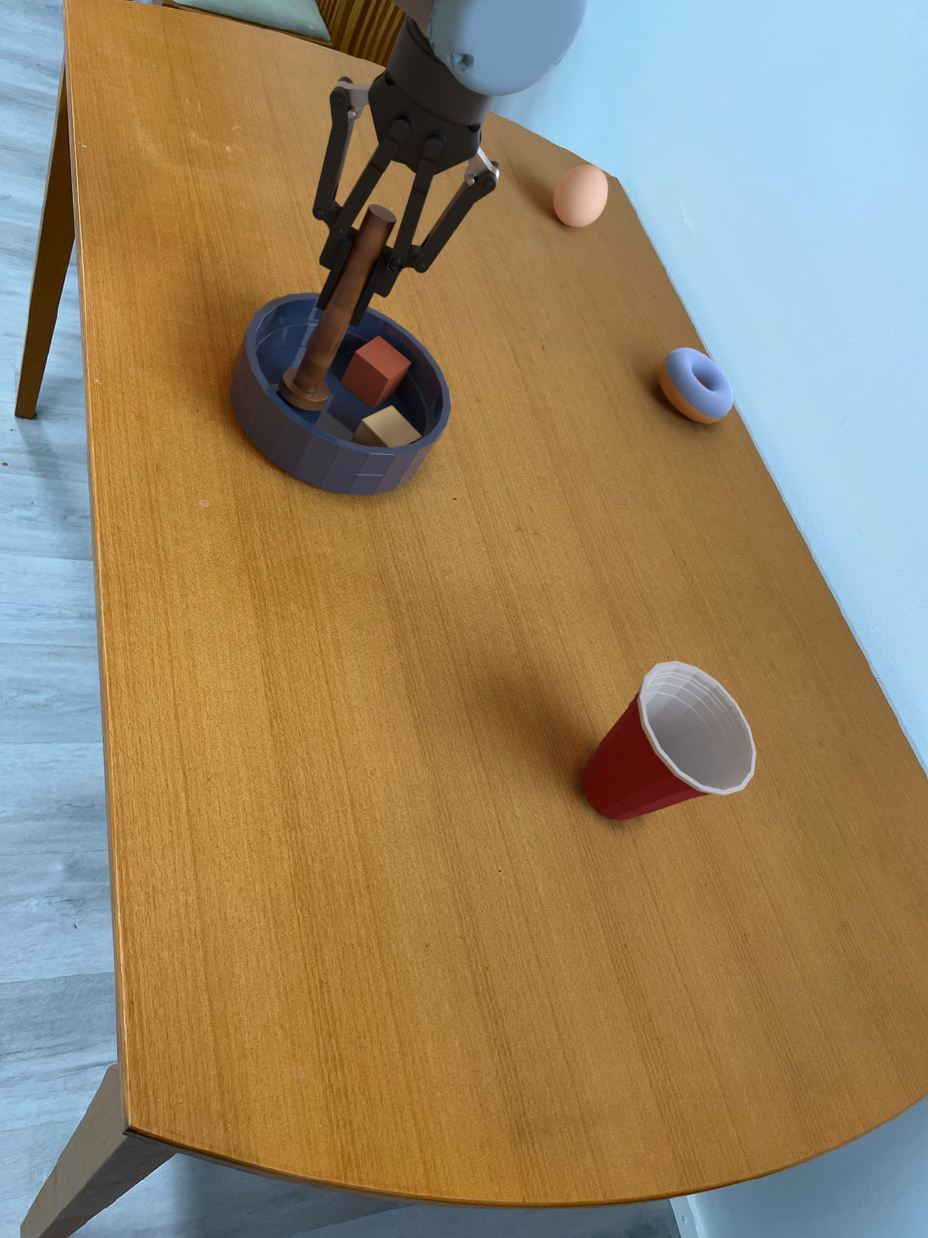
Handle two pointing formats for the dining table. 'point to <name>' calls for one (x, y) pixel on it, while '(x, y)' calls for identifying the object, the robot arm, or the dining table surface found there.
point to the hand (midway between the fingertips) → (340, 307)
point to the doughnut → (695, 385)
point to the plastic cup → (670, 746)
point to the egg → (581, 195)
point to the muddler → (338, 312)
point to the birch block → (385, 430)
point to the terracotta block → (375, 372)
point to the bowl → (333, 401)
